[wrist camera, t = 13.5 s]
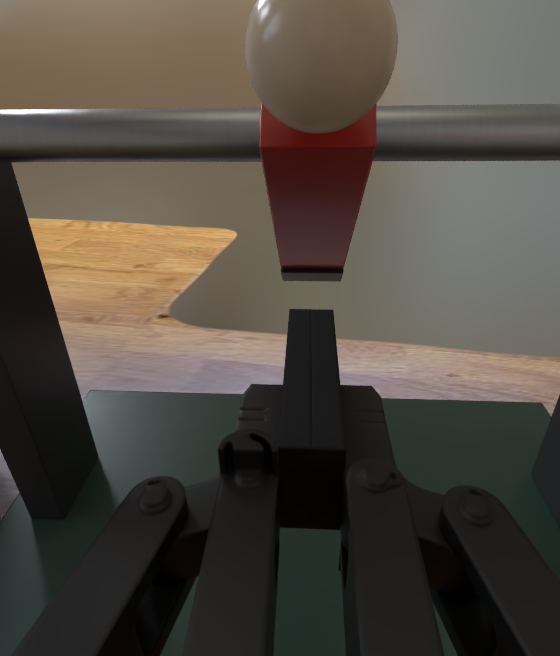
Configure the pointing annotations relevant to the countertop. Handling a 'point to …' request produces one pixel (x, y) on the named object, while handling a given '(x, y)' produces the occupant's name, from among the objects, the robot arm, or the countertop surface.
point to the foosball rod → (299, 126)
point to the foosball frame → (209, 463)
